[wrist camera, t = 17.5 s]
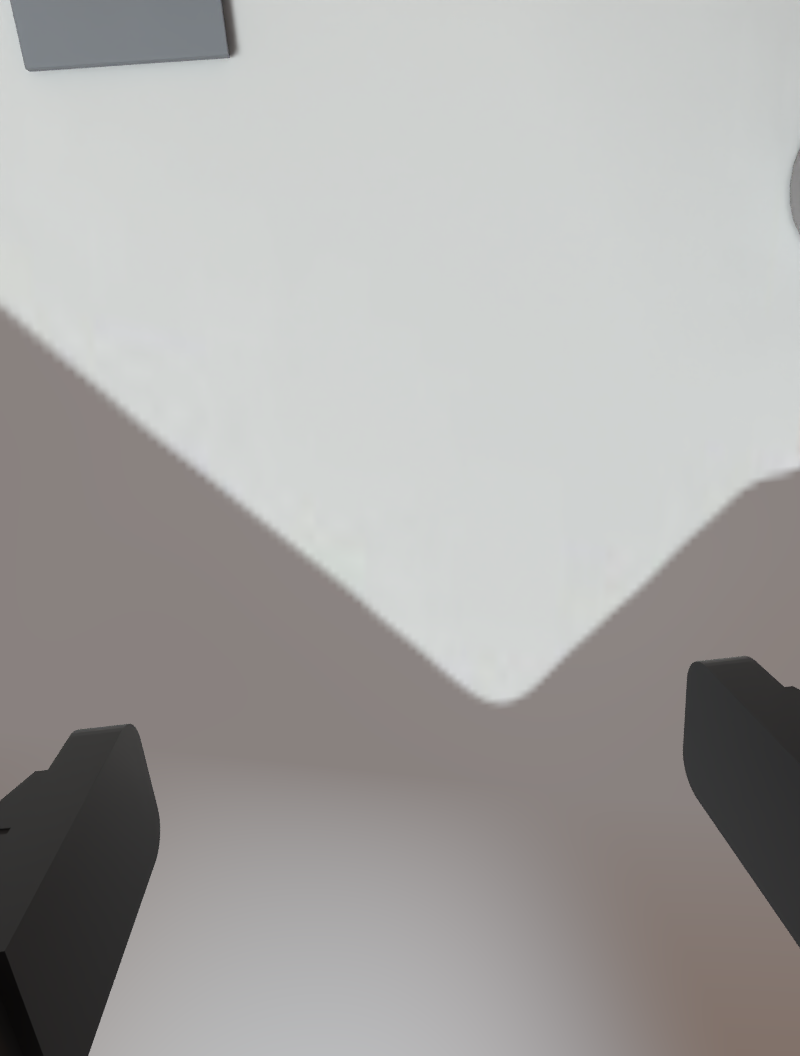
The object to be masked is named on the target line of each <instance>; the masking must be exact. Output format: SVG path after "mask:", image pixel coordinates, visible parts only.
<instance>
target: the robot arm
mask: <svg viewBox="0 0 800 1056" xmlns="http://www.w3.org/2000/svg"><path fill="white" fill-rule="evenodd" d="M790 205H791V210H792V215H793V220H794V222H795V225H796V227H797V229H798V232H799V234H800V150H799V153H798V155H797V158H796V161H795V163H794V167H793V172H792V177H791V183H790ZM684 725H685V726H684V741H683V742H684V743H683V760H684V766H685V771H686V774H687V778H688V781H689V784H690V786H691V788H692V790H693V792H694V794H695V796H696V798H697V799H698V800H699V802H700V804H701V805H702V806H703V808H704V809H705V811H706V812H707V813H708V815H709V816H710V818H711V819H712V821H713V822H714V824H715V825H716V827H717V828H718V830H719V831H720V833H721V834H722V835H723V837H724V838H725V840H726V841H727V843H728V844H729V846H730V847H731V848H732V850H733V851H734V853H735V854H736V856H737V857H738V859H739V860H740V861H741V863H742V865H743V866H744V867H745V869H746V870H747V872H748V873H749V874H750V876H751V878H752V879H753V880H754V882H755V883H756V885H757V886H758V888H759V889H760V891H761V892H762V894H763V895H764V896H765V898H766V899H767V901H768V902H769V904H770V905H771V907H772V908H773V909H774V911H775V912H776V914H777V915H778V917H779V918H780V920H781V921H782V923H783V924H784V925H785V927H786V928H787V930H788V931H789V933H790V934H791V936H792V937H793V938H794V940H795V941H796V943H797V944H798V946H799V947H800V690H799V689H797V688H795V687H793V686H791V687H784V686H783V685H781V684H780V683H779V682H778V681H777V680H776V679H775V678H774V677H772V676H771V675H770V674H769V673H768V672H767V671H766V670H765V669H764V668H762V667H761V666H760V665H759V664H758V663H757V662H756V661H755V660H753V659H752V658H750V657H747V656H741V657H732V658H723V659H714V660H705V661H697V662H694V663H692V664H691V666H690V668H689V671H688V675H687V689H686V708H685V724H684ZM159 840H160V819H159V812H158V808H157V804H156V800H155V796H154V792H153V788H152V784H151V780H150V776H149V772H148V768H147V764H146V759H145V755H144V751H143V748H142V743H141V739H140V736H139V734H138V731H137V730H136V728H135V727H134V726H133V725H132V724H124V725H116V726H107V727H98V728H90V729H80V730H76V731H74V732H73V733H72V734H71V735H70V737H69V738H68V740H67V741H66V743H65V744H64V746H63V748H62V749H61V750H60V752H59V754H58V755H57V757H56V758H55V760H54V761H53V763H52V765H51V766H50V768H49V769H48V770H44V771H35V772H34V773H33V774H32V775H30V776H29V777H28V778H27V779H26V780H24V781H23V782H22V783H21V784H20V785H18V787H16V788H15V789H14V790H12V791H11V792H10V793H9V794H8V795H6V796H5V797H4V798H3V799H2V800H1V801H0V1056H88V1054H89V1052H90V1049H91V1046H92V1043H93V1040H94V1037H95V1034H96V1031H97V1029H98V1026H99V1023H100V1020H101V1017H102V1014H103V1011H104V1008H105V1005H106V1003H107V1000H108V997H109V994H110V991H111V988H112V985H113V982H114V980H115V977H116V974H117V971H118V968H119V965H120V962H121V959H122V957H123V954H124V951H125V948H126V945H127V942H128V939H129V936H130V933H131V930H132V928H133V925H134V922H135V919H136V916H137V913H138V910H139V908H140V904H141V901H142V899H143V896H144V893H145V890H146V887H147V885H148V882H149V878H150V876H151V873H152V870H153V867H154V864H155V861H156V858H157V854H158V849H159Z"/></svg>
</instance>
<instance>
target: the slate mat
mask: <svg viewBox="0 0 800 1056" xmlns="http://www.w3.org/2000/svg"><path fill="white" fill-rule="evenodd" d="M10 2H11V7H12V11H13V16H14V20H15V24H16V29H17V33H18V38H19V42H20V47H21V51H22V56H23V60H24V65H25V69H27V70H28V71H45V70H59V69H73V68H88V67H102V66H117V65H131V64H146V63H160V62H174V61H189V60H203V59H218V58H230V57H229V50H228V43H227V35H226V28H225V21H224V14H223V7H222V0H10Z"/></svg>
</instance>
